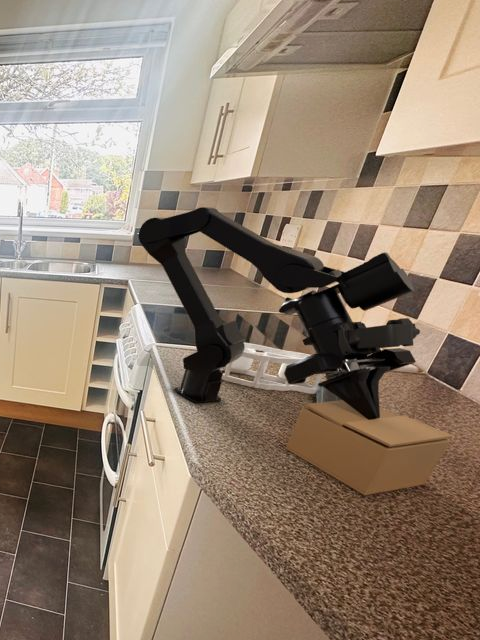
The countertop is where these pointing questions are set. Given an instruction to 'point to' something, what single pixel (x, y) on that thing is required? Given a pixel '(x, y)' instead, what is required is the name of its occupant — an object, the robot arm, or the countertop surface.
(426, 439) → the carton
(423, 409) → the countertop surface
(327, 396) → the grey angular piece
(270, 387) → the skeletal toy car
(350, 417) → the flap
